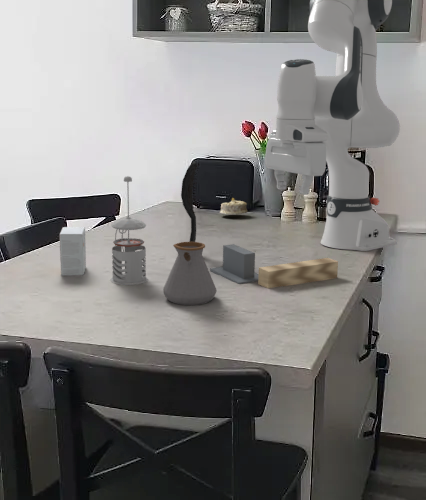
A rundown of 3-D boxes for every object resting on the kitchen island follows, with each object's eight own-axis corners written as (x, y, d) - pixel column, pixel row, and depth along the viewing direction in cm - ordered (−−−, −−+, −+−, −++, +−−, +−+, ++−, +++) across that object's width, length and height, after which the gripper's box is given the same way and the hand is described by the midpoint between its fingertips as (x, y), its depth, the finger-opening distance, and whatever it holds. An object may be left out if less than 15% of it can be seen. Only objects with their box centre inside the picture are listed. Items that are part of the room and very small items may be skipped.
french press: (116, 289, 171) (114, 180, 165) (100, 276, 181) (97, 173, 175) (156, 284, 175) (156, 177, 169) (138, 272, 185) (136, 171, 179)
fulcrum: (237, 268, 190) (238, 241, 188) (267, 282, 178) (268, 253, 176) (210, 272, 186) (210, 244, 184) (238, 286, 174) (239, 257, 172)
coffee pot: (165, 294, 168) (165, 228, 164) (217, 295, 167) (217, 229, 164) (155, 326, 147) (155, 252, 143) (214, 327, 147) (215, 253, 143)
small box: (63, 267, 188) (62, 226, 186) (86, 267, 189) (85, 226, 186) (60, 276, 181) (58, 233, 178) (83, 276, 181) (82, 233, 179)
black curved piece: (194, 258, 199) (194, 164, 193) (180, 257, 200) (180, 163, 194) (202, 251, 207) (203, 160, 201) (189, 250, 207) (189, 160, 201)
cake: (253, 212, 264) (253, 197, 263) (238, 216, 256) (239, 201, 254) (228, 209, 269) (229, 194, 268) (213, 213, 261) (214, 198, 260)
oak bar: (326, 277, 184) (327, 257, 182) (336, 281, 180) (338, 261, 179) (258, 288, 174) (258, 267, 173) (267, 292, 171) (268, 271, 169)
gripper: (259, 129, 180) (257, 186, 183) (308, 134, 163) (306, 197, 165) (281, 129, 183) (279, 185, 186) (332, 134, 165) (329, 196, 168)
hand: (292, 191), depth 176 cm, fingers open, 8 cm apart
